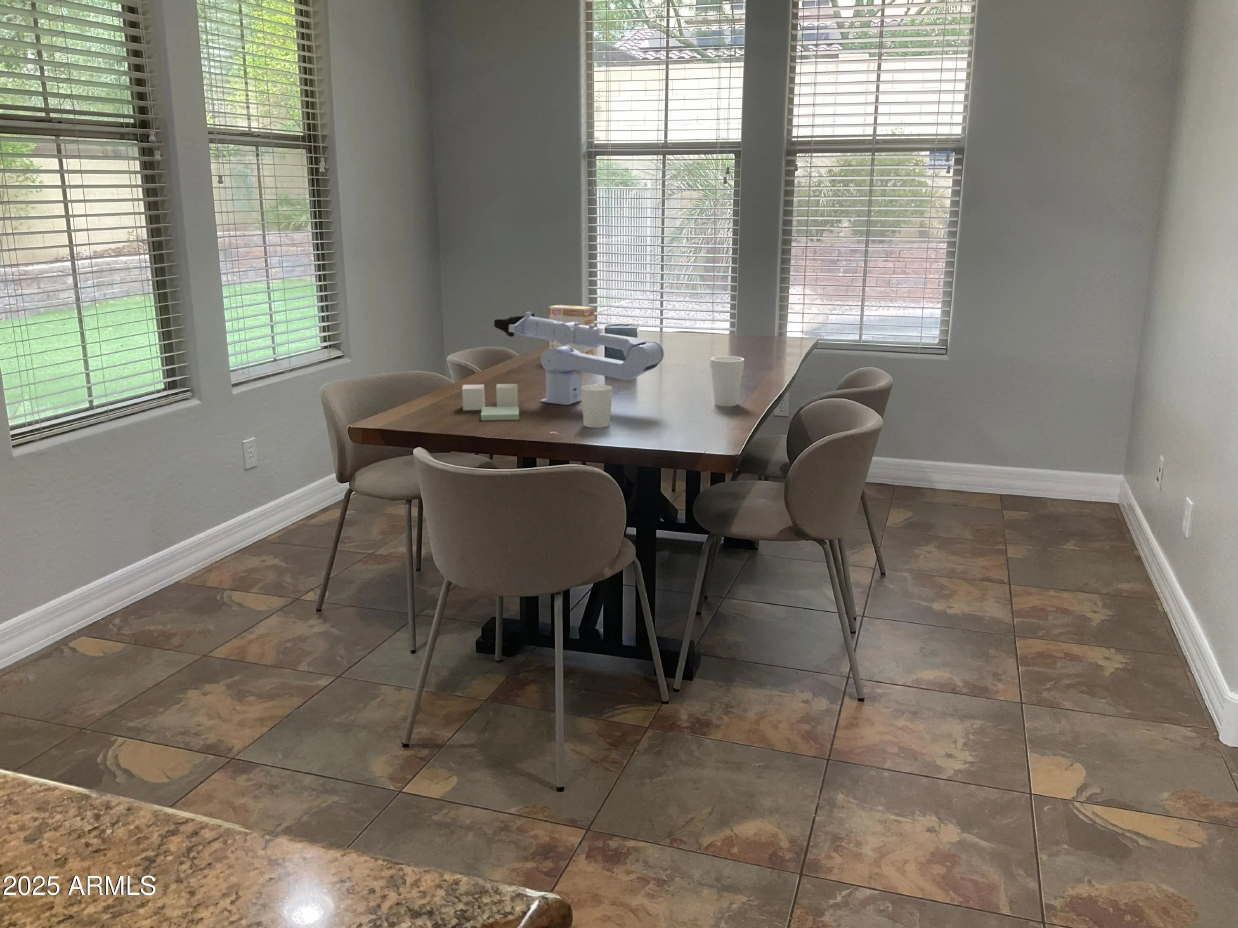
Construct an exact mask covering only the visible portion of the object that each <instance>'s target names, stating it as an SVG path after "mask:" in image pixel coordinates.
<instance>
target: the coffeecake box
mask: <svg viewBox="0 0 1238 928" xmlns="http://www.w3.org/2000/svg"><path fill="white" fill-rule="evenodd" d="M548 319H550V320H556V321H560V322H565V323H568V322H571V321H575V323H576V322H578V323H580V325H585V326H589V325H595V306H581V305H568V304H567V305H566V304H556V305H551V306H548ZM548 343H549V345H548V346H549V349H553V348H557V347H561V346H563V344H560V343H559V342H558V341H555V340H554V341H553V340H548ZM567 345H568V346H570V347H572V348H573V349H574V350H577V351H580V353H583V354H588V355H594V356H596V355H595V354H596V351H595V349H596V348H591V347H585V346H580V345H575V344H573V343H569V344H567Z"/></svg>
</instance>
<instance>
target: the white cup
mask: <svg viewBox="0 0 1238 928" xmlns="http://www.w3.org/2000/svg"><path fill="white" fill-rule="evenodd" d="M612 391H613V387H612V386H611V385H607V384H586V385H583V386H580V394H581V399H582V400H581V409H582V416H583V417H582V418H583V426H584V427H587V428H590V429H591V428H592V429H602V428H607V427H609V426H610V425H611V414H612V413H611V412H612V393H613V392H612Z"/></svg>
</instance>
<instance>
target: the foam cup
mask: <svg viewBox="0 0 1238 928" xmlns="http://www.w3.org/2000/svg"><path fill="white" fill-rule="evenodd" d="M709 364H710V365H709V367H710V368H711V369H710V370H711V378H712V389H713V400H714V404H715V405H716V406H719V407H734V406H738V401H739V395H740V390H741V385H742V377H743V374H744V373H743V372H744V368H745V358H743V357H741V356H735V355H734V356H733V355H731V356H730V355H721V356H720V355H718V356H717V355H716V356H712V357H711V358H710V363H709Z"/></svg>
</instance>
